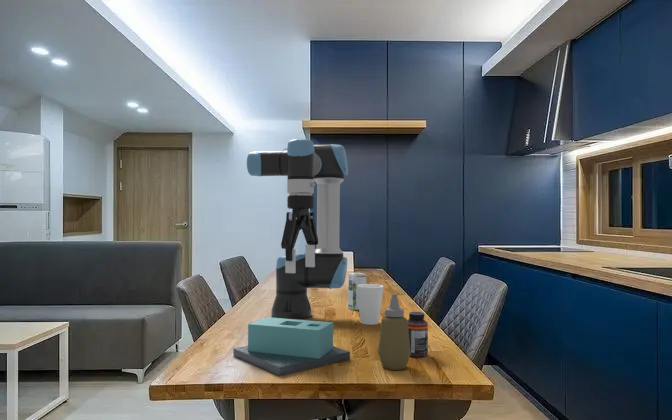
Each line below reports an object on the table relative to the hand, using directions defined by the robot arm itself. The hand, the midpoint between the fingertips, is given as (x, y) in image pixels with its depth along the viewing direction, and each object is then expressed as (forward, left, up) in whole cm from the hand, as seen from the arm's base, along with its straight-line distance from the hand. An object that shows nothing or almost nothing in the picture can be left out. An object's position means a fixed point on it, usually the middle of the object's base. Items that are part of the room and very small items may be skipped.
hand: (300, 269), depth 142 cm
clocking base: (+6, -7, -22) cm, 24 cm away
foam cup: (-13, +40, -22) cm, 47 cm away
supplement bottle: (+25, +21, -22) cm, 39 cm away
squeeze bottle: (+29, +8, -22) cm, 37 cm away
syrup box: (-36, +55, -22) cm, 69 cm away
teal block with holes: (+6, -7, -20) cm, 22 cm away
